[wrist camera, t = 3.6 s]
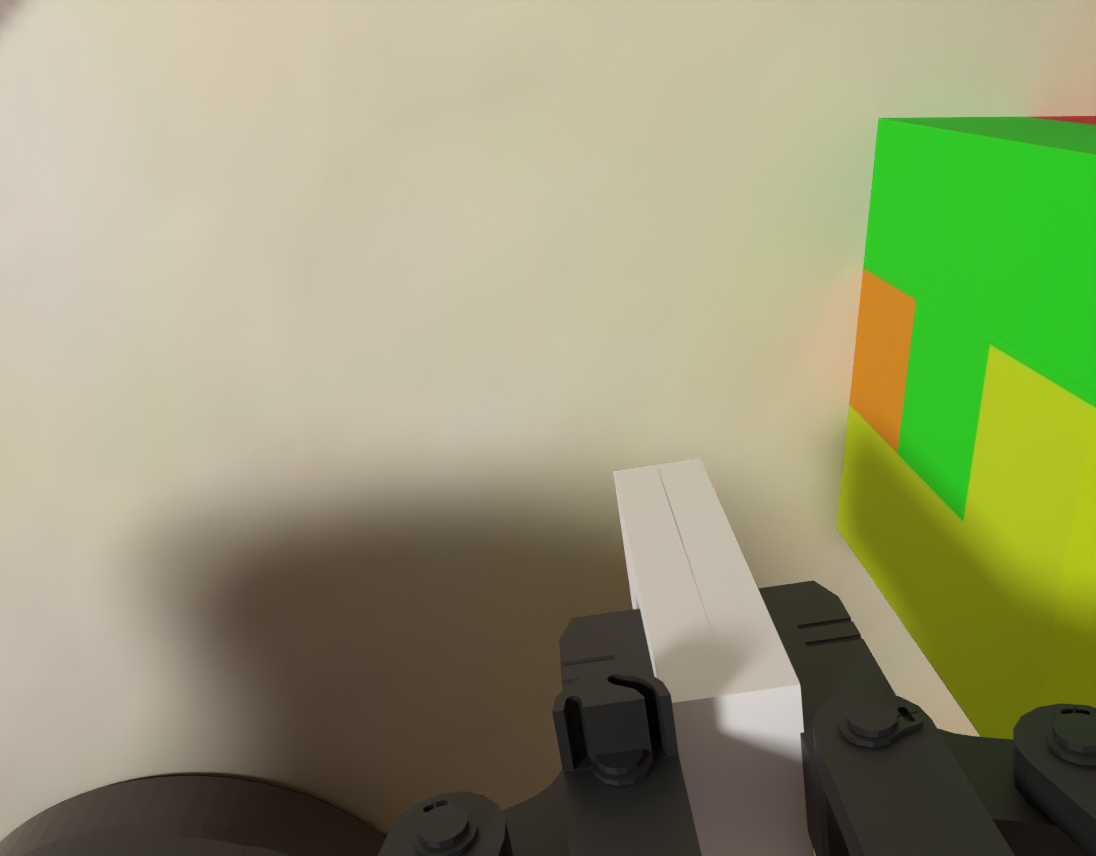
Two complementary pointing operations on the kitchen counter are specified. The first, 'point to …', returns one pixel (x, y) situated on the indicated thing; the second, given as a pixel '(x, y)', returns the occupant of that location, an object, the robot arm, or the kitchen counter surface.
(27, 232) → the kitchen counter surface
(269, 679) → the kitchen counter surface
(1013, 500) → the puzzle toy
